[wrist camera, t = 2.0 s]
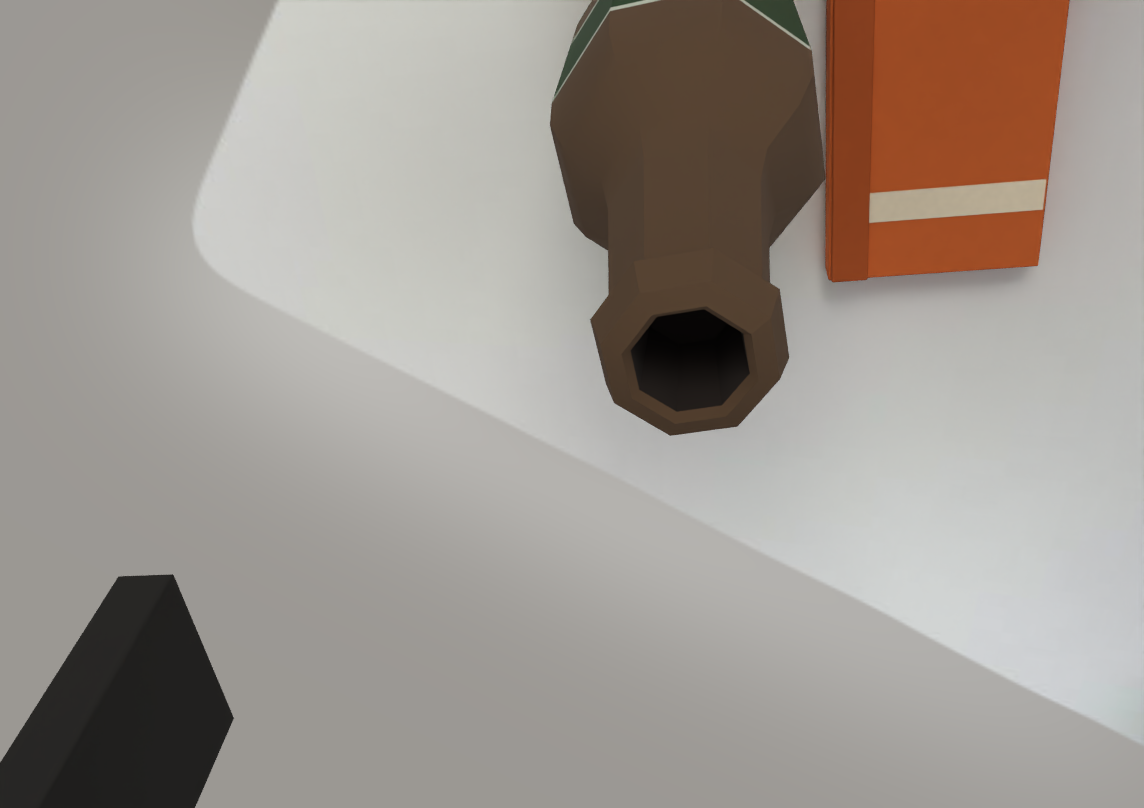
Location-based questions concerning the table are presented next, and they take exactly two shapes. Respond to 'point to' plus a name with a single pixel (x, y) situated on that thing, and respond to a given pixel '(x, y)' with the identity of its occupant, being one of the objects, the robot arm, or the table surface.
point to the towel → (938, 133)
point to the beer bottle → (688, 194)
